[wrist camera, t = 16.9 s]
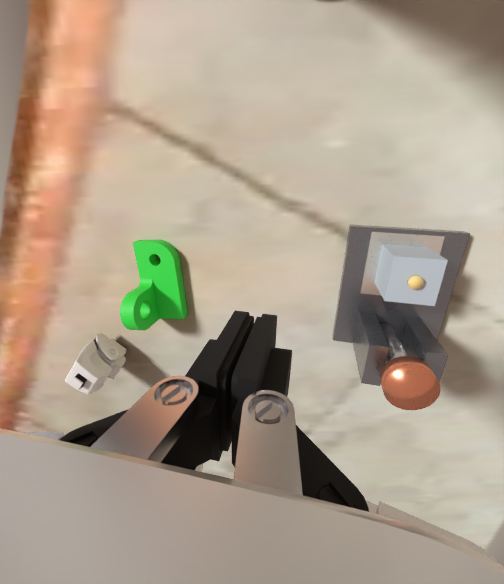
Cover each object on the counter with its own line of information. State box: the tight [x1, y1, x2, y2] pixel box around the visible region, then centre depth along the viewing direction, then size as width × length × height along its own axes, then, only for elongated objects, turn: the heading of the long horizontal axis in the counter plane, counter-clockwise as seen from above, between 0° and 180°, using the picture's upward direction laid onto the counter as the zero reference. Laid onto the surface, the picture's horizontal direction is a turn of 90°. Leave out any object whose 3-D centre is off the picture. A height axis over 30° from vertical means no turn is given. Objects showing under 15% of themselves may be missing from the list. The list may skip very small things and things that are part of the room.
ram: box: [380, 323, 440, 410], centre depth 34 cm, size 5×5×12 cm
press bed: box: [333, 225, 470, 386], centre depth 33 cm, size 16×13×10 cm
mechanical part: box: [120, 240, 188, 330], centre depth 41 cm, size 12×6×8 cm, turn 4°
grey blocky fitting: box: [65, 333, 127, 394], centre depth 47 cm, size 6×7×10 cm
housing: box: [375, 244, 448, 306], centre depth 33 cm, size 5×5×6 cm
